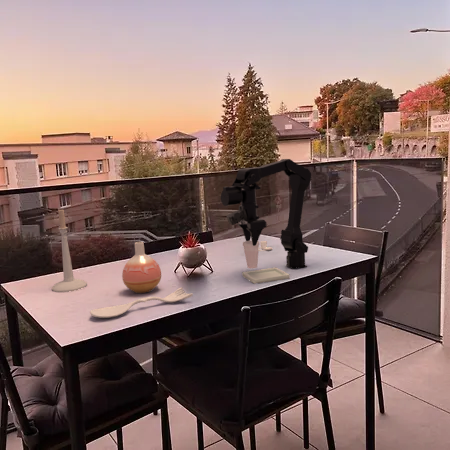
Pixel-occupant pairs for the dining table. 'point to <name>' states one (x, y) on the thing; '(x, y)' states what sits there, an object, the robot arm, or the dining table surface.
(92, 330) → the dining table surface
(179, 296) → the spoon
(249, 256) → the smoothie
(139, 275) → the vase
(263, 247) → the teacup and saucer
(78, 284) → the candlestick
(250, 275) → the tray
